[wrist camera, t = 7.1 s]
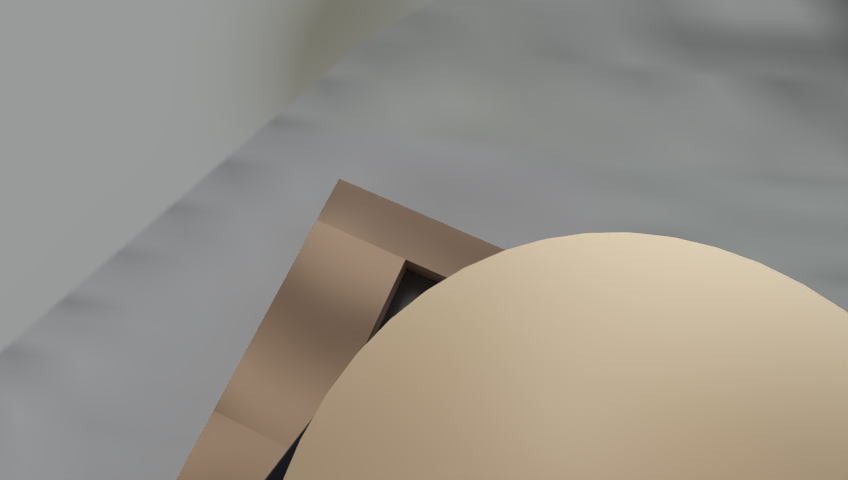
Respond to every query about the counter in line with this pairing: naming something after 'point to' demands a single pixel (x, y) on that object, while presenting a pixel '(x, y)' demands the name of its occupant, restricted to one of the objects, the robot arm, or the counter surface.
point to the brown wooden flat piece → (322, 325)
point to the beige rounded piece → (594, 373)
